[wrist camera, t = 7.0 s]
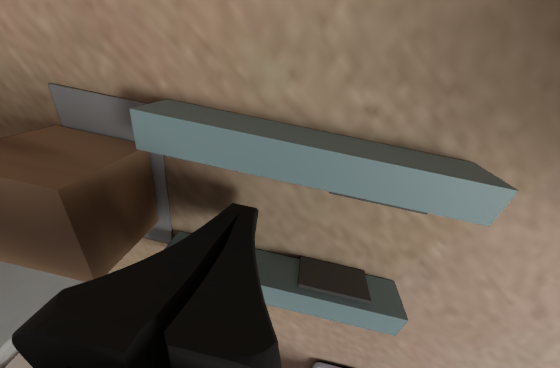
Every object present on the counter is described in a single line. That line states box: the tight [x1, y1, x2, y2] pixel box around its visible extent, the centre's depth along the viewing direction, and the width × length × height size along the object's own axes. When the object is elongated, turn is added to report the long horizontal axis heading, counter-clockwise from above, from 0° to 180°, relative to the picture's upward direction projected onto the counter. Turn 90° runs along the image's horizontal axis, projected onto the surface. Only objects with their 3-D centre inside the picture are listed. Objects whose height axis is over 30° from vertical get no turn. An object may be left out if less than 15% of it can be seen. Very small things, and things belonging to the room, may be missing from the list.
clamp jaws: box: [130, 99, 519, 336], centre depth 11 cm, size 10×14×2 cm
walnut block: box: [0, 125, 159, 282], centre depth 10 cm, size 5×5×4 cm
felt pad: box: [48, 83, 173, 243], centre depth 13 cm, size 9×5×1 cm, turn 170°
